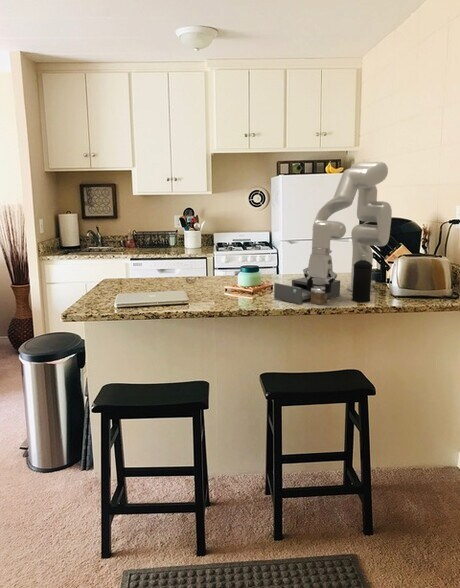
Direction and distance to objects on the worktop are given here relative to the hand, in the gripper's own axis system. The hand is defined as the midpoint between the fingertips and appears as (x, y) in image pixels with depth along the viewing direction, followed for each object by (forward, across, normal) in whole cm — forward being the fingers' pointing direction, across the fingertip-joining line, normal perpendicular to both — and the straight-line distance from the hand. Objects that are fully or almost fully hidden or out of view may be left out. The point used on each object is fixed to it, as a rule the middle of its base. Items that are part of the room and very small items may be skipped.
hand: (318, 291), depth 222 cm
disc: (0, 0, 0) cm, 1 cm away
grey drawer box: (+5, +10, -12) cm, 16 cm away
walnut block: (+5, 0, 0) cm, 5 cm away
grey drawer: (+5, +11, +1) cm, 12 cm away
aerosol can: (+5, -10, -18) cm, 21 cm away
